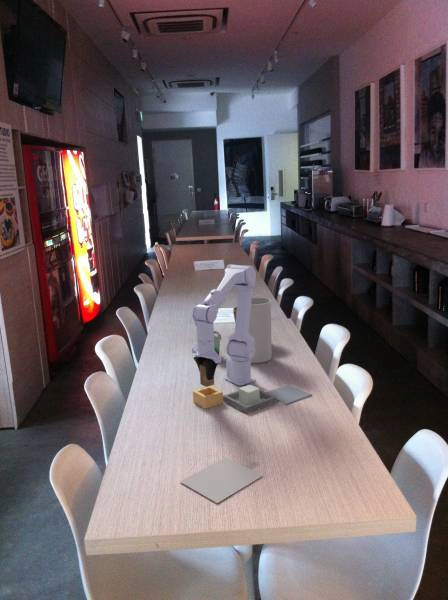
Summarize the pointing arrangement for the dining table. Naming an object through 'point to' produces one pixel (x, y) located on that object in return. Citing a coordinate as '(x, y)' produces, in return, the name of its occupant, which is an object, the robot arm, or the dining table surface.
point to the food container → (217, 341)
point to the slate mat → (288, 394)
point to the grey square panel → (221, 479)
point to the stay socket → (208, 397)
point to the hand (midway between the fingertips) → (207, 377)
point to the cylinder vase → (261, 328)
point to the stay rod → (205, 377)
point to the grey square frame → (268, 401)
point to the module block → (249, 395)
